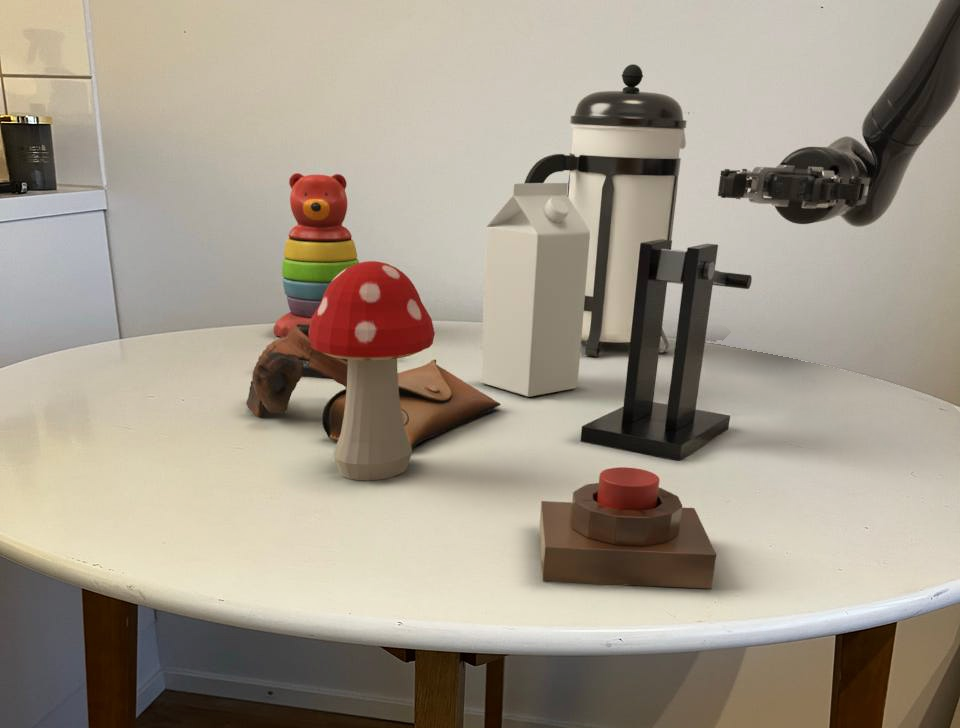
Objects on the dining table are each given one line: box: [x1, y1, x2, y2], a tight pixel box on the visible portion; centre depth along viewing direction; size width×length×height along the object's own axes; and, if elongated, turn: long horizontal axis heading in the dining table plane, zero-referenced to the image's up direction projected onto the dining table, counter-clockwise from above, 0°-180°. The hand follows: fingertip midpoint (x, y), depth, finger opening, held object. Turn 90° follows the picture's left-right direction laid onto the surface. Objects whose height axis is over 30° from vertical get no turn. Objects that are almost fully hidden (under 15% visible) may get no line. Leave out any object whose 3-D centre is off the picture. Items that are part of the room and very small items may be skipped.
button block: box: [538, 482, 717, 590], centre depth 63 cm, size 10×8×4 cm
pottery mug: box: [246, 326, 348, 418], centre depth 90 cm, size 12×10×8 cm
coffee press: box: [524, 63, 688, 358], centre depth 116 cm, size 17×16×30 cm
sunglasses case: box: [321, 359, 501, 449], centre depth 89 cm, size 18×7×7 cm
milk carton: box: [480, 182, 590, 398], centre depth 99 cm, size 7×7×19 cm
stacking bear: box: [273, 172, 360, 338], centre depth 121 cm, size 11×10×18 cm
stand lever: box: [656, 249, 753, 290], centre depth 88 cm, size 14×5×2 cm, turn 149°
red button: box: [597, 466, 660, 511], centre depth 62 cm, size 4×4×2 cm
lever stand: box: [580, 239, 731, 461], centre depth 86 cm, size 12×9×16 cm
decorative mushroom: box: [308, 260, 436, 481], centre depth 74 cm, size 10×9×15 cm
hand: (772, 188), depth 98 cm, fingers open, 8 cm apart
